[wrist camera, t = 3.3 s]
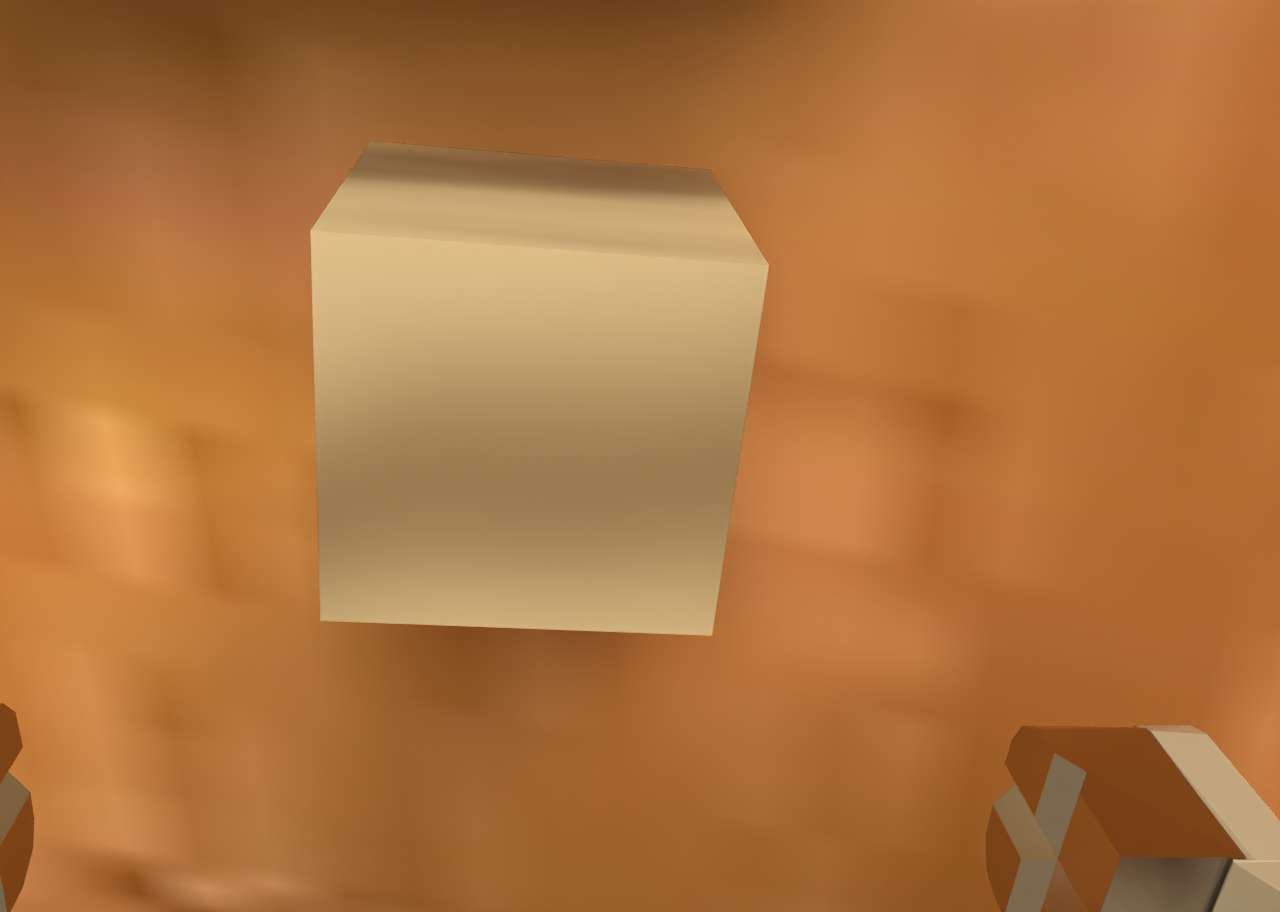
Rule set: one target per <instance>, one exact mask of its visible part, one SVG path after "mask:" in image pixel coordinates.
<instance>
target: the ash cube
mask: <svg viewBox="0 0 1280 912" xmlns="http://www.w3.org/2000/svg"><path fill="white" fill-rule="evenodd" d="M311 269H312V309H313V348H314V388H315V428H316V468H317V508H318V548H319V588H320V621H339V622H365V623H392V624H418V625H445V626H471V627H498V628H524V629H551V630H577V631H604V632H630V633H657V634H684V635H710V636H712V631H713V625H714V618H715V612H716V606H717V599H718V593H719V586H720V580H721V573H722V567H723V560H724V554H725V547H726V541H727V534H728V528H729V521H730V515H731V508H732V502H733V496H734V489H735V483H736V476H737V470H738V463H739V457H740V450H741V444H742V437H743V431H744V424H745V418H746V411H747V405H748V398H749V392H750V386H751V379H752V373H753V366H754V360H755V353H756V347H757V340H758V334H759V327H760V321H761V314H762V308H763V301H764V295H765V288H766V282H767V276H768V269H769V265H768V263H767V261H766V260H765V258H764V257H763V255H762V253H761V252H760V250H759V249H758V247H757V245H756V244H755V242H754V240H753V239H752V237H751V236H750V234H749V232H748V231H747V229H746V227H745V226H744V224H743V223H742V221H741V219H740V218H739V216H738V215H737V213H736V211H735V210H734V208H733V206H732V205H731V203H730V202H729V200H728V198H727V197H726V195H725V193H724V192H723V190H722V189H721V187H720V185H719V184H718V182H717V181H716V179H715V177H714V176H713V174H712V172H711V171H710V170H707V169H696V168H684V167H672V166H661V165H649V164H637V163H626V162H614V161H602V160H590V159H579V158H567V157H555V156H544V155H532V154H520V153H508V152H497V151H485V150H473V149H462V148H450V147H438V146H427V145H415V144H403V143H391V142H380V141H370V143H369V144H368V146H367V147H366V149H365V150H364V152H363V153H362V155H361V156H360V158H359V159H358V161H357V162H356V164H355V165H354V167H353V168H352V170H351V171H350V173H349V174H348V176H347V177H346V179H345V180H344V182H343V183H342V185H341V186H340V188H339V189H338V191H337V192H336V194H335V195H334V196H333V198H332V199H331V201H330V202H329V204H328V205H327V207H326V208H325V210H324V211H323V213H322V214H321V216H320V217H319V219H318V220H317V222H316V223H315V225H314V226H313V228H312V229H311Z"/></svg>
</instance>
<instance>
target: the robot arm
mask: <svg viewBox="0 0 1280 912" xmlns="http://www.w3.org/2000/svg"><path fill="white" fill-rule="evenodd" d="M22 747H23V745H22V741H21V736H20V731H19V727H18V722H17V717H16V712H14V711H13V710H12V709H10V708H9V707H8V706H6V705H5V704H3V703H0V912H11V910H12V908H13V906H14V904H15V902H16V900H17V898H18V896H19V894H20V892H21V890H22V888H23V885H24V881H25V877H26V873H27V869H28V866H29V862H30V858H31V854H32V850H33V835H34V814H33V807H32V800H31V793H30V792H29V791H28V790H27V789H26V788H25V787H24V786H23V785H22V784H21V783H20V782H19V781H18V780H17V779H15V778H14V777H13V776H12V775H11V774H10V773H9V772H8V771H9V769H10V767H11V766H12V764H13V762H14V761H15V759H16V757H17V756H18V754H19V752H20V751H21V749H22ZM1005 765H1006V767H1007V768H1008V770H1009V772H1010V774H1011V776H1012V777H1013V779H1014V781H1015V783H1016V784H1015V785H1014V786H1013V787H1012V788H1011V789H1010V790H1009V791H1008V792H1006V793H1005V794H1004V795H1003V796H1002V797H1001V798H1000V799H999V800H997V801H996V802H995V803H994V804H993V807H992V811H991V815H990V819H989V823H988V827H987V831H986V865H987V871H988V875H989V879H990V883H991V887H992V891H993V894H994V896H995V898H996V901H997V903H998V905H999V907H1000V909H1001V912H1280V821H1279V819H1278V818H1277V817H1276V816H1275V815H1274V813H1273V812H1272V811H1271V810H1270V809H1269V808H1268V806H1267V805H1266V804H1265V803H1264V802H1263V800H1262V799H1261V798H1260V797H1259V796H1258V794H1257V793H1256V792H1255V791H1254V790H1253V788H1252V787H1251V786H1250V785H1249V784H1248V782H1247V781H1246V780H1245V779H1244V778H1243V777H1242V775H1241V774H1240V773H1239V772H1238V771H1237V769H1236V768H1235V767H1234V766H1233V765H1232V763H1231V762H1230V761H1229V760H1228V759H1227V757H1226V756H1225V755H1224V754H1223V753H1222V752H1221V750H1220V749H1219V748H1218V747H1217V746H1216V744H1215V743H1214V742H1213V741H1212V740H1211V738H1210V737H1209V736H1208V735H1207V734H1206V733H1204V732H1202V731H1201V730H1199V729H1197V728H1195V727H1193V726H1191V725H1135V726H1134V727H1081V726H1022V727H1021V728H1020V729H1019V731H1018V732H1017V734H1016V735H1015V736H1014V738H1013V739H1012V741H1011V744H1010V748H1009V751H1008V754H1007V758H1006V761H1005Z"/></svg>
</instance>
